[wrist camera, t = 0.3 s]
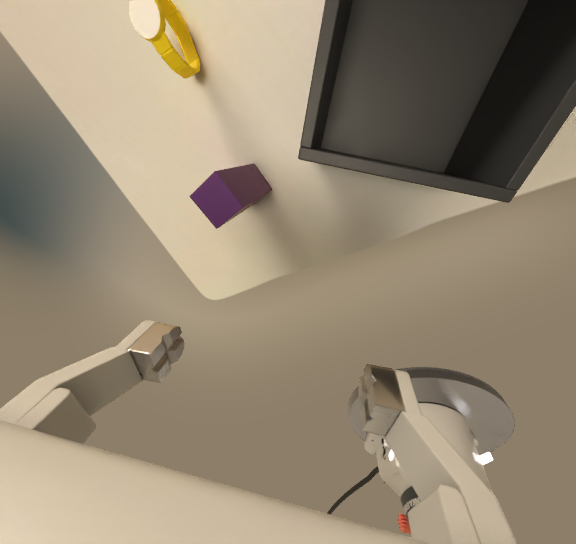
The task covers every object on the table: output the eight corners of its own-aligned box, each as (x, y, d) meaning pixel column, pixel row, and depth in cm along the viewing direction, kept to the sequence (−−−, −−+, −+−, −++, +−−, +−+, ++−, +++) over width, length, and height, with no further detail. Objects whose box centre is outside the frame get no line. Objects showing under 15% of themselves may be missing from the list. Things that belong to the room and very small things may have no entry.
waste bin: (443, 181, 24) (510, 203, 15) (312, 154, 25) (297, 159, 16) (547, -25, 17) (811, -241, 7) (353, -49, 18) (370, -261, 8)
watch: (213, 75, 23) (178, 55, 18) (192, 88, 24) (154, 72, 19) (183, -1, 21) (134, -49, 16) (162, 15, 22) (109, -24, 17)
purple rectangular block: (272, 189, 28) (243, 207, 19) (251, 205, 29) (216, 229, 21) (254, 163, 27) (215, 170, 18) (234, 181, 28) (189, 196, 20)
